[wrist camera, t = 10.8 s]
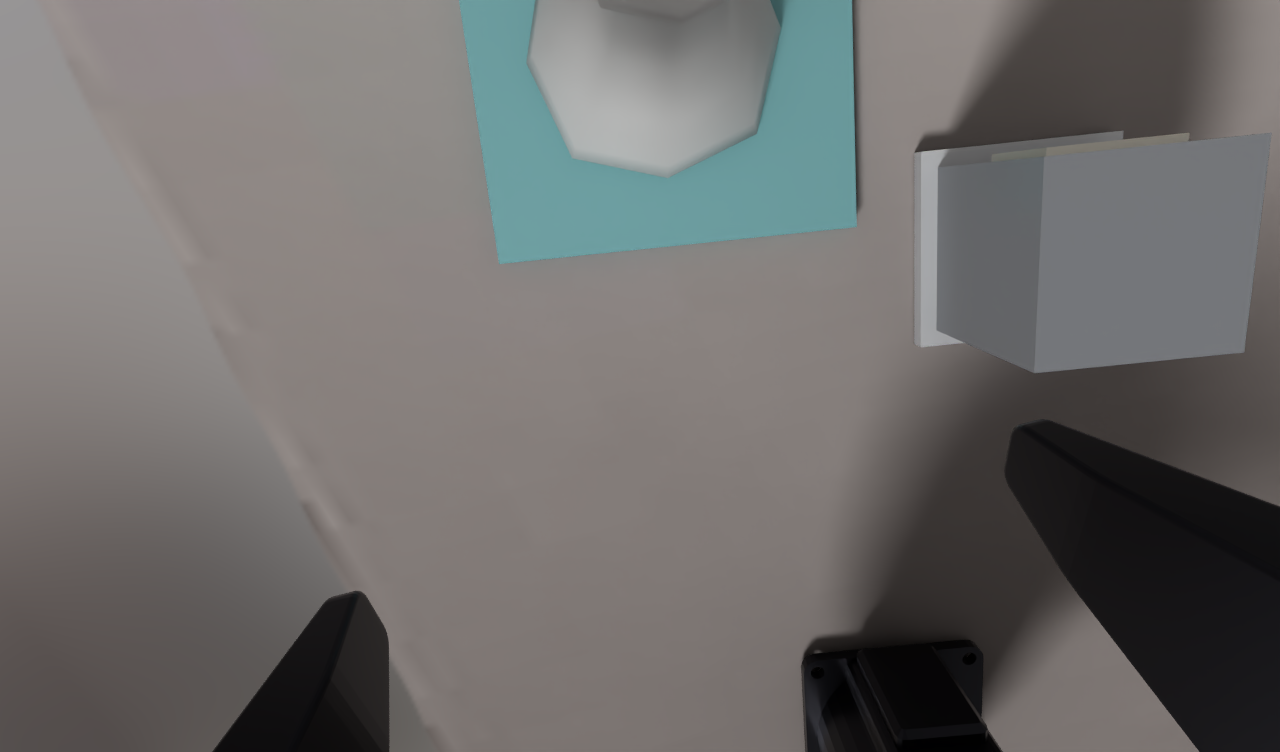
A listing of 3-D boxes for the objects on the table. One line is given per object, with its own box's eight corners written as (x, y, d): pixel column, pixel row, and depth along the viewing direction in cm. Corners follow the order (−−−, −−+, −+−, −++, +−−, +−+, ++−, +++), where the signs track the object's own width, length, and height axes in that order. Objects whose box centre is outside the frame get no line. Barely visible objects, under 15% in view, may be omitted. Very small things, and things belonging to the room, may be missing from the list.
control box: (1098, 325, 22) (1262, 370, 16) (914, 344, 22) (1012, 395, 17) (1112, 131, 21) (1297, 106, 15) (914, 152, 21) (1022, 135, 15)
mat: (850, 226, 21) (856, 227, 21) (503, 262, 22) (499, 263, 21) (841, -185, 19) (847, -196, 18) (442, -139, 19) (436, -150, 18)
